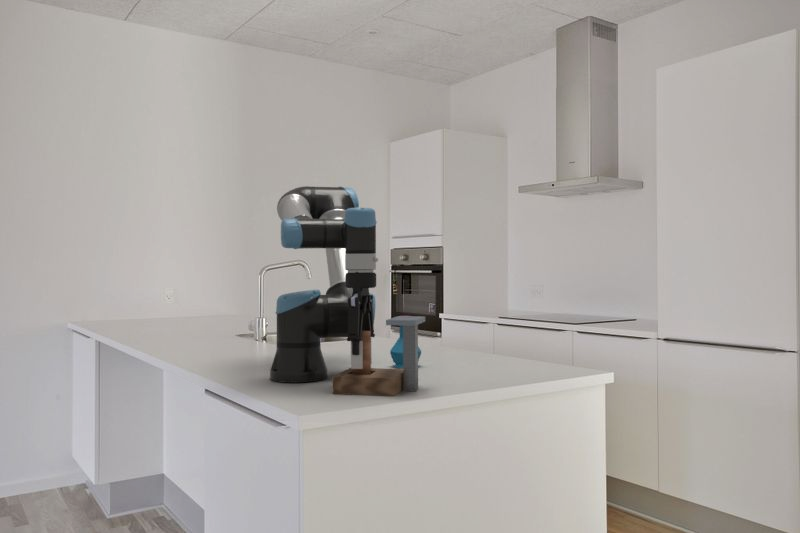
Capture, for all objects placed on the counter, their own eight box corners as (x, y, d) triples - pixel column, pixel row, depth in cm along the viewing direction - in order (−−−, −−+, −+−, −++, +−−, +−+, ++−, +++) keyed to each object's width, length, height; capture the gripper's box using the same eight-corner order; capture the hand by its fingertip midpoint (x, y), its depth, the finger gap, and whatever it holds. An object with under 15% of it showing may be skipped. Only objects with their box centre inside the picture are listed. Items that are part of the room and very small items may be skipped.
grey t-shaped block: (386, 393, 156) (385, 320, 156) (398, 384, 168) (397, 316, 168) (416, 395, 154) (415, 320, 154) (425, 385, 166) (425, 316, 166)
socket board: (332, 393, 157) (332, 376, 157) (350, 383, 170) (350, 367, 170) (394, 395, 153) (394, 378, 153) (408, 385, 167) (408, 369, 167)
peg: (350, 390, 161) (350, 332, 161) (355, 387, 165) (355, 330, 165) (368, 391, 160) (367, 332, 160) (373, 387, 164) (372, 330, 164)
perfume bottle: (402, 363, 205) (401, 314, 205) (427, 366, 199) (426, 315, 199) (384, 367, 197) (383, 316, 197) (409, 370, 192) (409, 317, 192)
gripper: (364, 271, 152) (364, 373, 152) (385, 271, 171) (386, 360, 171) (332, 272, 154) (333, 372, 154) (357, 271, 173) (358, 360, 173)
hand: (361, 366), depth 162 cm, fingers open, 7 cm apart
